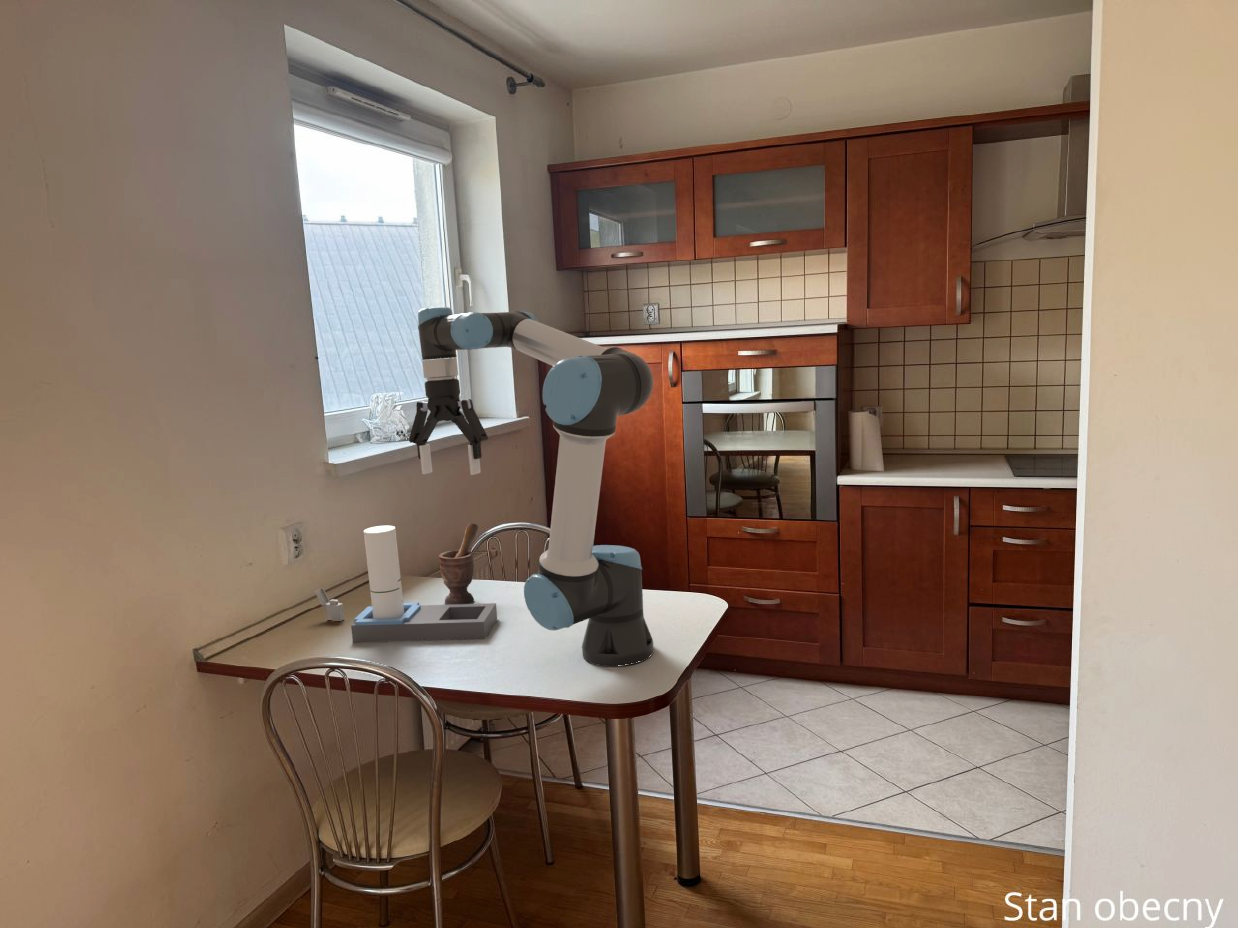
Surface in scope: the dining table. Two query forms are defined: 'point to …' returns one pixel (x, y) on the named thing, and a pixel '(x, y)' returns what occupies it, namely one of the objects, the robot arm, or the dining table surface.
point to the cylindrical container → (384, 572)
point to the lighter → (330, 606)
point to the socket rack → (427, 623)
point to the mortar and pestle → (459, 569)
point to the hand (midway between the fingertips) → (451, 473)
